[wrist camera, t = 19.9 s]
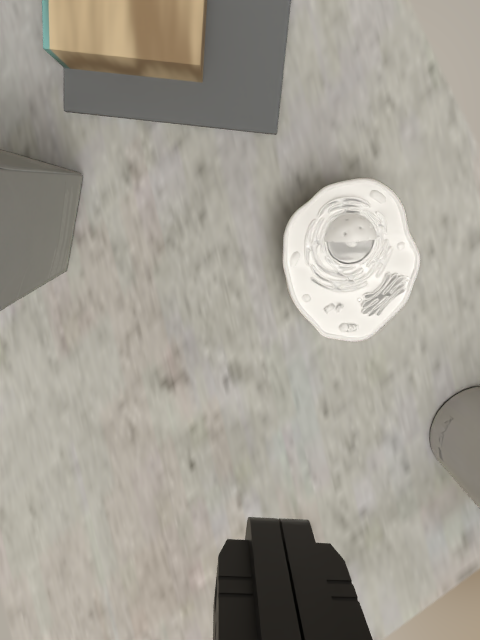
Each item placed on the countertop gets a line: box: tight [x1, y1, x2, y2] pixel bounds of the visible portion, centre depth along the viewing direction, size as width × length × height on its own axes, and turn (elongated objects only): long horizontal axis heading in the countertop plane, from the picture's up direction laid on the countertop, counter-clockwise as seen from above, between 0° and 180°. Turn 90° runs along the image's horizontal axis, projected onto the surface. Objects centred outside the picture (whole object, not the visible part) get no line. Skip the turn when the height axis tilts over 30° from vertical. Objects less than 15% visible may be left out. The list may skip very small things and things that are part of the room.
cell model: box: [283, 178, 420, 342], centre depth 33 cm, size 10×12×7 cm
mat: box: [64, 0, 291, 135], centre depth 31 cm, size 16×12×1 cm
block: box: [42, 0, 207, 82], centre depth 29 cm, size 4×6×10 cm
